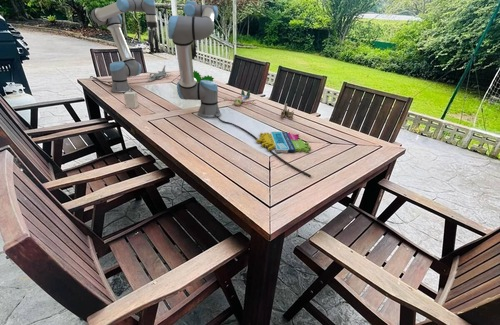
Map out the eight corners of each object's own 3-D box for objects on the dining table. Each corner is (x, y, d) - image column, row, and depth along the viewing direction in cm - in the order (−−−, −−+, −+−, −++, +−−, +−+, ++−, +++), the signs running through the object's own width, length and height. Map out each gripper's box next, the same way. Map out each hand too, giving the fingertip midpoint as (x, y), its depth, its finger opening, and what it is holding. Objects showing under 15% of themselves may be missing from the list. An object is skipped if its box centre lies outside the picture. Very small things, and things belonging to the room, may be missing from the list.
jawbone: (291, 106, 199) (293, 98, 190) (292, 123, 193) (294, 114, 184) (278, 106, 199) (280, 97, 190) (279, 122, 193) (281, 114, 184)
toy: (261, 91, 228) (254, 99, 202) (261, 99, 231) (253, 108, 205) (231, 87, 233) (220, 95, 207) (230, 95, 236) (219, 104, 210)
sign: (313, 150, 142) (258, 149, 139) (312, 153, 143) (258, 152, 140) (301, 132, 164) (254, 130, 161) (301, 134, 165) (254, 133, 162)
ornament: (208, 92, 257) (212, 77, 255) (210, 92, 249) (214, 76, 248) (188, 85, 249) (191, 70, 247) (189, 85, 241) (193, 69, 239)
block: (138, 105, 195) (136, 91, 190) (135, 108, 190) (133, 94, 185) (129, 105, 194) (126, 91, 189) (126, 107, 189) (123, 93, 184)
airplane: (140, 75, 284) (139, 65, 279) (170, 73, 298) (169, 64, 293) (146, 83, 256) (144, 73, 251) (178, 81, 269) (177, 71, 264)
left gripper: (151, 20, 208) (154, 49, 218) (141, 21, 186) (145, 53, 197) (160, 21, 209) (163, 50, 219) (152, 22, 187) (155, 54, 197)
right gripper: (189, 25, 197) (190, 55, 208) (184, 26, 176) (186, 60, 186) (199, 25, 198) (200, 55, 208) (195, 27, 176) (196, 60, 187)
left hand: (154, 51), depth 208 cm, fingers open, 13 cm apart
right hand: (193, 57), depth 197 cm, fingers open, 13 cm apart
